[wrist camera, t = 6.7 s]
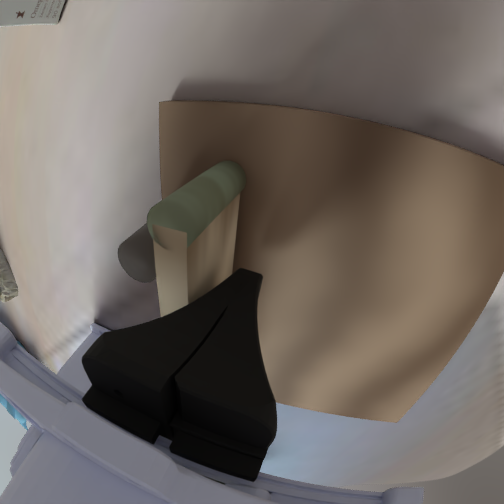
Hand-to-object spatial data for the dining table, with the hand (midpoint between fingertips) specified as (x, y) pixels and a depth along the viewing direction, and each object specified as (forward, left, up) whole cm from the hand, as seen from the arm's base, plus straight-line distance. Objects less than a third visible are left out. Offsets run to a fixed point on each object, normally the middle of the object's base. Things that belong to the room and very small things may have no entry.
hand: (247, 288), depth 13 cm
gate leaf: (-2, -3, -2) cm, 4 cm away
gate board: (+4, -3, -3) cm, 6 cm away
